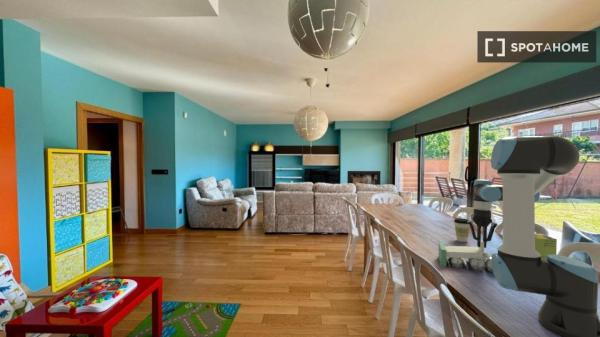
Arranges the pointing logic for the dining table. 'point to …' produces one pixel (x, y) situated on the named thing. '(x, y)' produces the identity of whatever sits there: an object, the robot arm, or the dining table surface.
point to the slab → (463, 252)
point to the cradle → (462, 260)
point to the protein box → (545, 245)
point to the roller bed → (481, 263)
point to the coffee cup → (462, 229)
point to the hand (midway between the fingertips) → (481, 253)
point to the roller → (456, 262)
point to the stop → (442, 254)
